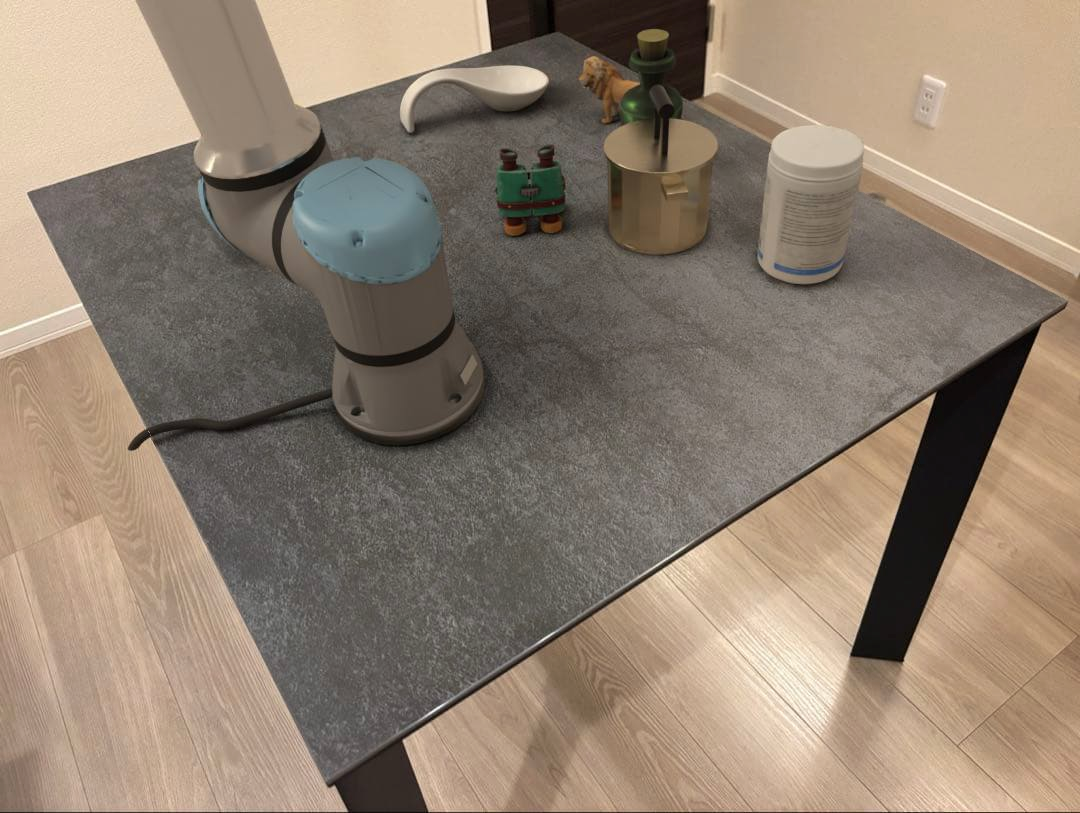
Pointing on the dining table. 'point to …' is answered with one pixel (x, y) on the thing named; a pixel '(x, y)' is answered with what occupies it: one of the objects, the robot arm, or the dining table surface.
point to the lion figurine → (605, 84)
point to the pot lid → (660, 143)
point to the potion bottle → (649, 77)
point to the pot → (658, 210)
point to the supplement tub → (809, 202)
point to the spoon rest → (481, 87)
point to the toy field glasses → (530, 191)
